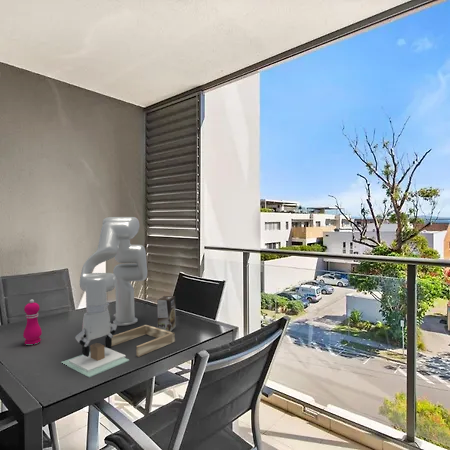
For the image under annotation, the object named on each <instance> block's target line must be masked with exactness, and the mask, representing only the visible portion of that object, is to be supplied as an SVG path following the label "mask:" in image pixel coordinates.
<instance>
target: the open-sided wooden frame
mask: <svg viewBox="0 0 450 450" xmlns="http://www.w3.org/2000/svg"><path fill="white" fill-rule="evenodd" d="M144 335H146V336H149V337H153V338H154V339H151V340H149V341H147V342H144V343H141V344H139V345H136V347H135V348H136V349H135V351H136V357H138V358H140V357H142V356H144V355H147V354H149V353H151V352H154V351H156V350H158V349H161V348H164V347H165V346H169V345H171V344H172V343H175V342H176V337H175V336H176V335H175V332H173V331H171V332H169V331H166V330H163V329H159V328H158V327H155V326H153V325H152V326H151V325H148V324H143V325H141V326H139V327H136V328H135V327H134V328H131V329H130V330H126V331H123V332H119V333H116V334H114V335H113V338H112V345H111V347H114V346H117V345H120V344H123V343H126V342H128V341H130V340H133V339H136V338H139V337H142V336H144Z"/></svg>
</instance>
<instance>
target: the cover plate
mask: <svg viewBox="0 0 450 450" xmlns="http://www.w3.org/2000/svg"><path fill="white" fill-rule="evenodd" d="M89 351H90V352H91V353H89V356H88V357H87V356H84V355H83V356H80V355H79V356H80V357H77V356H76V357H77V358H74V357H73V358H74V359H71V358H70V359H71V360H69V363H71V364H73V365H75V366H77V367H79V368H81V369H83V370H85V371H87V372H91V371H93V370H96V369H98V368H101V367H103V366H105V365H108V364H110V363H113V362H115V361H118V360H120V359H123V358H126V354H124V353H121V352H118V351H117V350H113V349H112V348H107V347H106V346H105V344H104V345H103V344H101V343H99V342H95V343H93V344H90V346H89Z"/></svg>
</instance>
